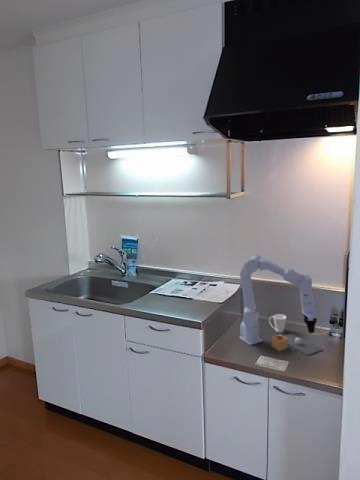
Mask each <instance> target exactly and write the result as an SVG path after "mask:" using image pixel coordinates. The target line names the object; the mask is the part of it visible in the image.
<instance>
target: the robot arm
mask: <svg viewBox="0 0 360 480" xmlns="http://www.w3.org/2000/svg"><path fill="white" fill-rule="evenodd" d="M258 270H259V271H265V270H267V271H269V272H272V273H274V274H277V275H278V276H281V277H282V278H283V281H286V282H288V283H290V284H292V285H293V286H296V287H298V289H299V292H300V294H299V295H300V304H301V313H302V316H303V317H304V318H303V321H304V323H305V325H306V327H307V331H308V333H309V334H314V333H315V327H316V323H317V321H318V319H317V318H313V317H314V315H315V314H316V313H318V312H319V311H318V309H315V308H316V307H315V301H314V292H313V287H312V285H313V279H312V278H311V276H309V275H306V274H303V273H302V274H301V273H300V272H298V271H297V272H296V270H295V269H294V268H292V269H291V268H288V269H285V268H283V267H281V266H280V265H278V264H276V263H274V262H272V261H270V260H268V259H267V258H265V257H263V256H261V255H258V254H253V255H252V256H250V257H249V258H248V259H247V261H245V262H244V264H243V266H242V268H241V270H240V272H239V276H240V283H241V289H242V297H243V303H244V310H243V319H242V322H241V323H240V327H239V329H240V331H239V332H240V333H239V334H240V336H239V337H238V338H239V339H240V340H241V341H243V342H245V343H246V344H248V345H249V346H251V345H255V344H257V343H261V342H263V339H261V338H260V333H259V332H260V331H259V330H260V327H259V326H260V324H259V318H260V312H259V311H258V307H257V305H256V302H255V297H254V289H253V288H254V287H253V281H252V276H251V275H252V274H254V273H255V272H257V271H258Z"/></svg>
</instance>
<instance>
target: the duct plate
mask: <svg viewBox="0 0 360 480" xmlns="http://www.w3.org/2000/svg"><path fill="white" fill-rule="evenodd" d="M283 336H284V337H286V338H288V347H291V348H293V349H294V350H295V351H297V352H299V353H301V354H303V355H305V356H306V357H309V356H312V355H314V354H316V353H319V352H322V351H323V350H324V348H322V347H320V346H318V345H316V344H315V343H312V342H310V341H308V340H306V339H305V338H303V337H300V336H298V335H297V334H295V333H288V334H285V335H283Z"/></svg>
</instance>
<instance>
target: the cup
mask: <svg viewBox="0 0 360 480" xmlns="http://www.w3.org/2000/svg"><path fill="white" fill-rule="evenodd" d="M271 318H273V323H274V326H273V324H272V322H271ZM286 322H287V316H286V315H285V314H280V313H277V314H274V315H271V316H270V317H269V318H268V323H269V325H270V326H271V328H273V330H275V332H277V333H284V332H285V327H286Z"/></svg>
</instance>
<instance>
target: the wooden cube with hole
mask: <svg viewBox="0 0 360 480" xmlns="http://www.w3.org/2000/svg"><path fill="white" fill-rule="evenodd" d="M284 336H285V335H282V334H276V335H273V336H271V348H274V349H275V350H277V351H278V352H281V351H284V350H286V349H288V348H289V345H288V338H286V337H284Z"/></svg>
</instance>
